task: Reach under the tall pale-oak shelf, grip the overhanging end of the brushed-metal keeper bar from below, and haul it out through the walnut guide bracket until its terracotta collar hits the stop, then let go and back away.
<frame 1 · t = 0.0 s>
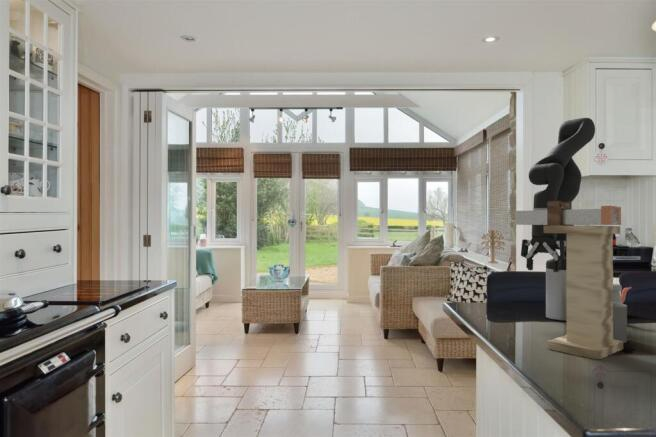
hand: (542, 271, 145), 17 cm above the countertop, tool pointing down, fingers open, 8 cm apart
shelf stand: (581, 347, 114), on the countertop
keeper bar: (563, 216, 118), point 35 cm above the countertop, slide at 0.0 cm
coffee mug: (604, 338, 126), on the countertop
salt shaker: (614, 323, 146), on the countertop
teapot: (600, 313, 164), on the countertop
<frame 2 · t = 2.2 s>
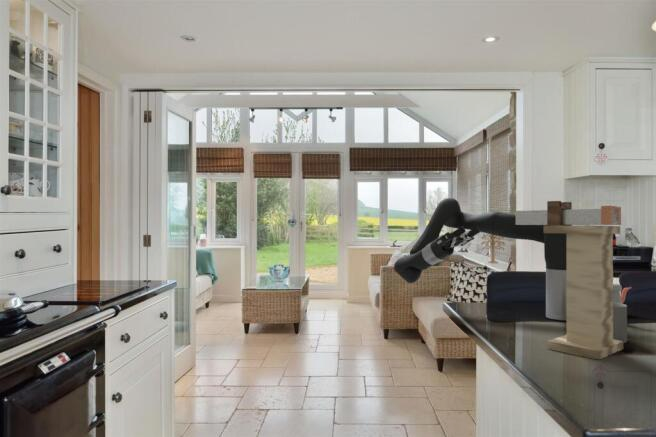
hand: (471, 229, 147), 31 cm above the countertop, tool pointing upward, fingers open, 8 cm apart
nothing on the countertop moved.
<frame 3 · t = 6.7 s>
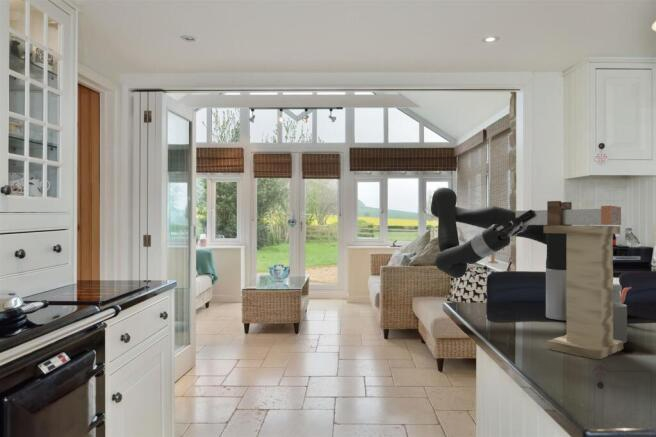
hand: (537, 212, 124), 36 cm above the countertop, tool pointing upward, fingers closed on keeper bar, 4 cm apart
keeper bar: (563, 216, 118), point 35 cm above the countertop, slide at 0.0 cm, touching gripper
everything else where it was.
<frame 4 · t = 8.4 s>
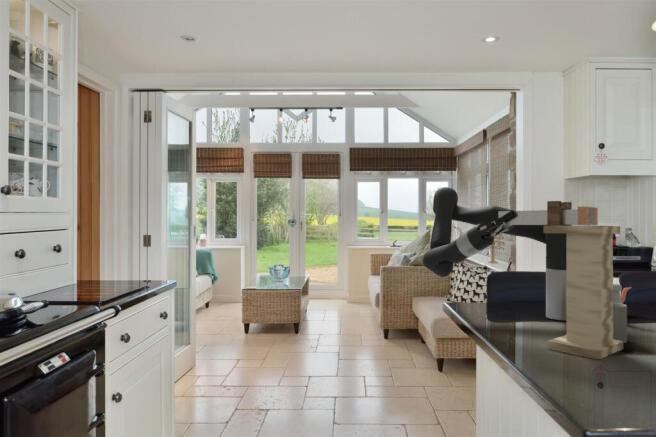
hand: (519, 213, 128), 36 cm above the countertop, tool pointing upward, fingers closed on keeper bar, 4 cm apart
keeper bar: (543, 216, 122), point 35 cm above the countertop, slide at 5.4 cm, touching gripper
everything else where it was.
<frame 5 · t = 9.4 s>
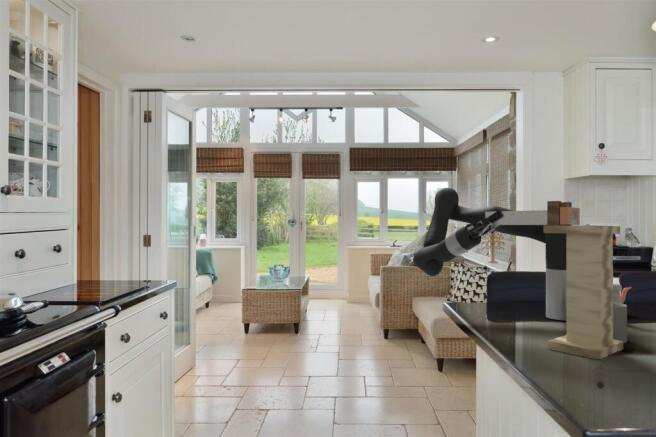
hand: (505, 213, 132), 36 cm above the countertop, tool pointing upward, fingers closed on keeper bar, 4 cm apart
keeper bar: (528, 216, 126), point 35 cm above the countertop, slide at 9.8 cm, touching gripper
everything else where it was.
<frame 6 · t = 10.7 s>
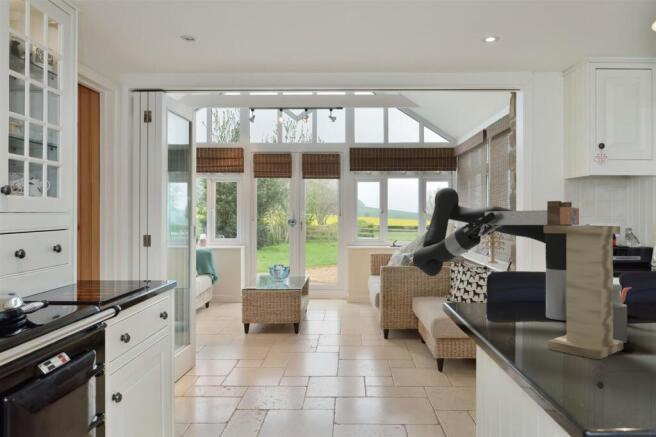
hand: (502, 215, 132), 35 cm above the countertop, tool pointing upward, fingers open, 8 cm apart
keeper bar: (527, 216, 126), point 35 cm above the countertop, slide at 10.0 cm
everything else where it was.
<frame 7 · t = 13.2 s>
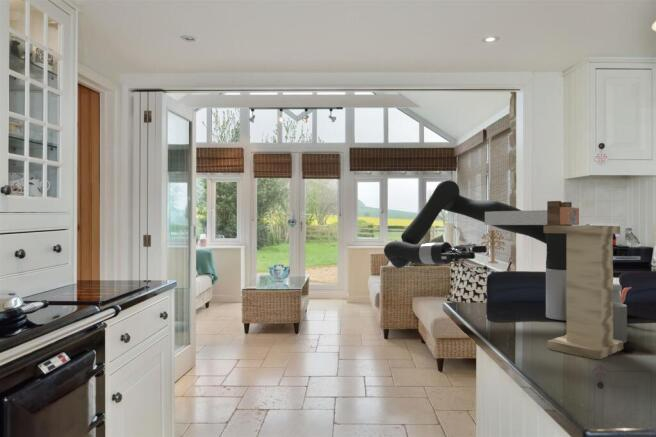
hand: (480, 251, 139), 24 cm above the countertop, tool horizontal, fingers open, 8 cm apart
nothing on the countertop moved.
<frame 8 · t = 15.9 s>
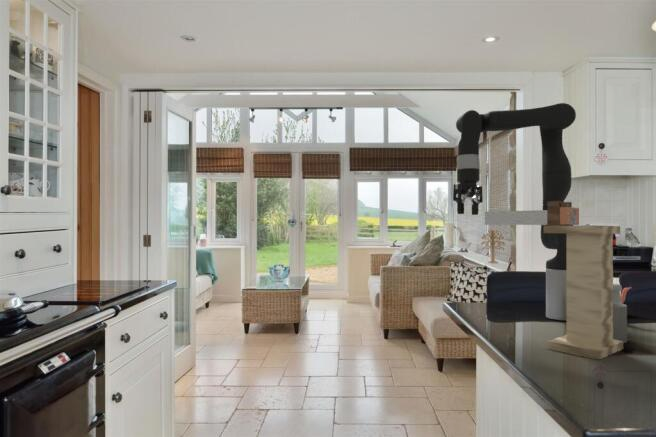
hand: (468, 214, 153), 36 cm above the countertop, tool pointing down, fingers open, 8 cm apart
nothing on the countertop moved.
at the end: keeper bar slide at 10.0 cm; the gripper is holding nothing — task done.
